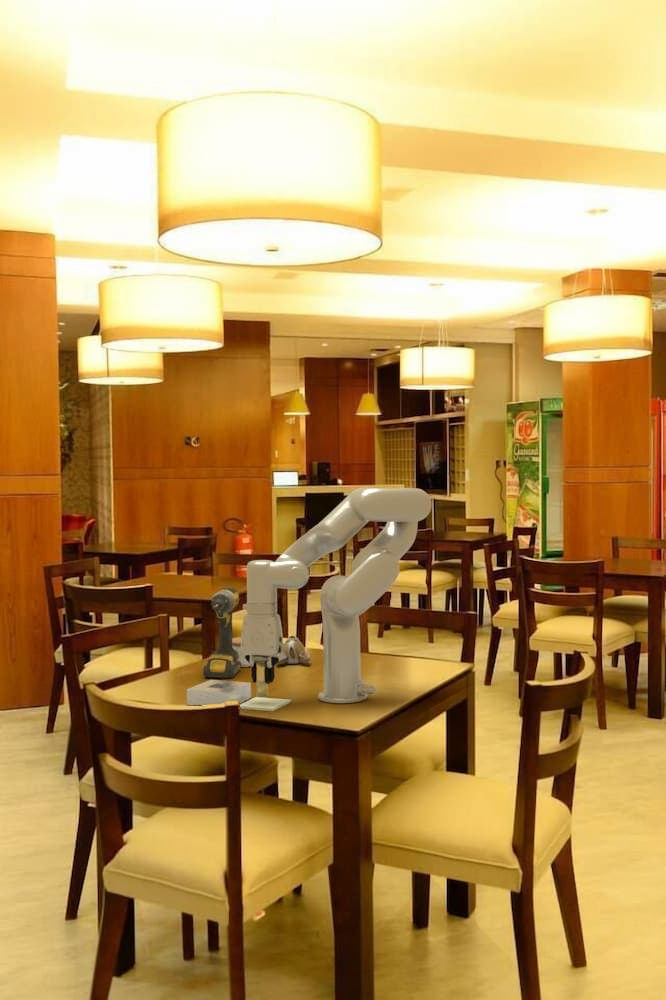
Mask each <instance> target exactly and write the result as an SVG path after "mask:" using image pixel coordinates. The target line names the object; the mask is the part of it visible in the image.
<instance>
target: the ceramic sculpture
mask: <svg viewBox="0 0 666 1000" xmlns="http://www.w3.org/2000/svg"><path fill="white" fill-rule="evenodd" d="M283 648H284V650H285V652H286V654H287V657H286V658H284V659H282V660H280V661H279V662H278V663H277V664H279V665H283V664H285V663H286V664H288V665H297V664H299V663H303V664H307V663H309V662H310V661H311V654H310V652H308V651H306V649H305V646H304V645H303V643H302V642H301V641H300V640H299V638H298V637H297V636H295V635H290V636H289V637H288V638H286V640H285V641H283ZM278 655H279V653H278V654H276V657H277V656H278Z"/></svg>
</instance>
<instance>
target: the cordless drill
mask: <svg viewBox="0 0 666 1000" xmlns="http://www.w3.org/2000/svg"><path fill="white" fill-rule="evenodd" d="M210 601H211V602H210V605H211V608H212V610H213V611H214V612H215V614H216V617H217V618H218V627H219V629H218V630H219V632H218V637H219V639H218V641H219V642H218V647H217V648H216V650H214V651H213V652H212V653H211V654H209V655H210V656H209V658H208V660H207V663H206V665H204V667H203V669H202V671H203V672H202V674H203V676H204V677H207V678H212V679H215V678H216V679H218V678H219V679H233V678H234V677H235V676H236V675H238V673H239V672H241V668H242V667H241V662H240V661H237V660H238V659H239V655H238V652H237V651H236V650H234V649H233V647H232V638H234V637H233V636H234V633H233V612H234V610H235V608H236V607H237V606H238V605H239V601H240V594H239V592H238V590H237V589H236V588H234V587H231V586H226V587H224V588H221V589H219V590H218V591H217V592H216V593H215V594H213V595H212V596H211V600H210Z"/></svg>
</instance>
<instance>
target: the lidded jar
mask: <svg viewBox="0 0 666 1000" xmlns="http://www.w3.org/2000/svg"><path fill="white" fill-rule="evenodd" d="M232 647H233V649H234V650H236V651H237V652H238V655H239V651H240V649H241V636H237V637H232ZM237 661H240V662H241V668H248V667H249V666H250V665H249V663H248V661H247V660H246V659H245V658H244V657H242V656H241V655H239V659H238V660H237ZM250 667H251V666H250Z"/></svg>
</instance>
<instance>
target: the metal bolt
mask: <svg viewBox="0 0 666 1000" xmlns="http://www.w3.org/2000/svg"><path fill="white" fill-rule="evenodd" d="M252 661H255V662H256V683H255V685H256V686H255V689H256V691H255V693H256V694H255V697H262V698H268V696H269V684H266V683H265V668H267V661H269V656H257V655H252Z"/></svg>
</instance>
